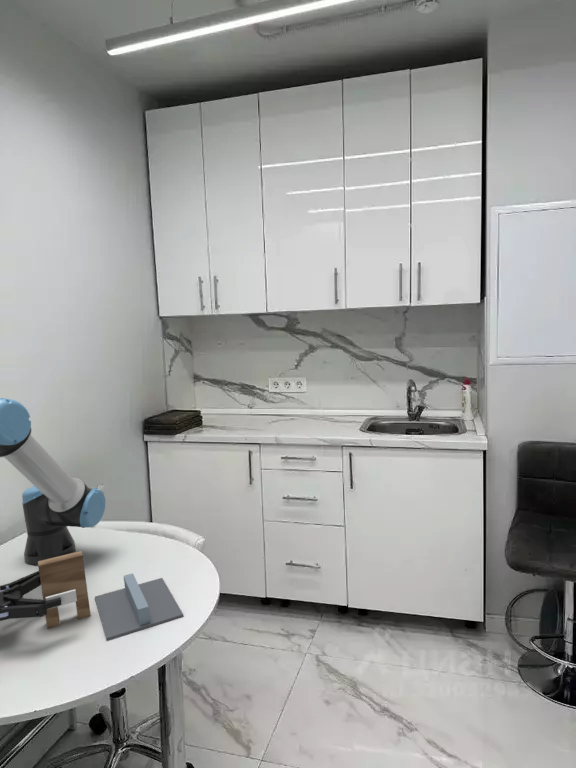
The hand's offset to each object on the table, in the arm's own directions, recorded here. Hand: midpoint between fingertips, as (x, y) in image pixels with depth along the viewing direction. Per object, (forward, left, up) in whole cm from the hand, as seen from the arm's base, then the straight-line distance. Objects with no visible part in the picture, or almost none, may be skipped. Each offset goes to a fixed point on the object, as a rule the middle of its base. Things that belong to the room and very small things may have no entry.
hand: (74, 583), depth 135 cm
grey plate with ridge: (+4, +14, -9) cm, 17 cm away
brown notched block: (0, -2, -9) cm, 9 cm away
